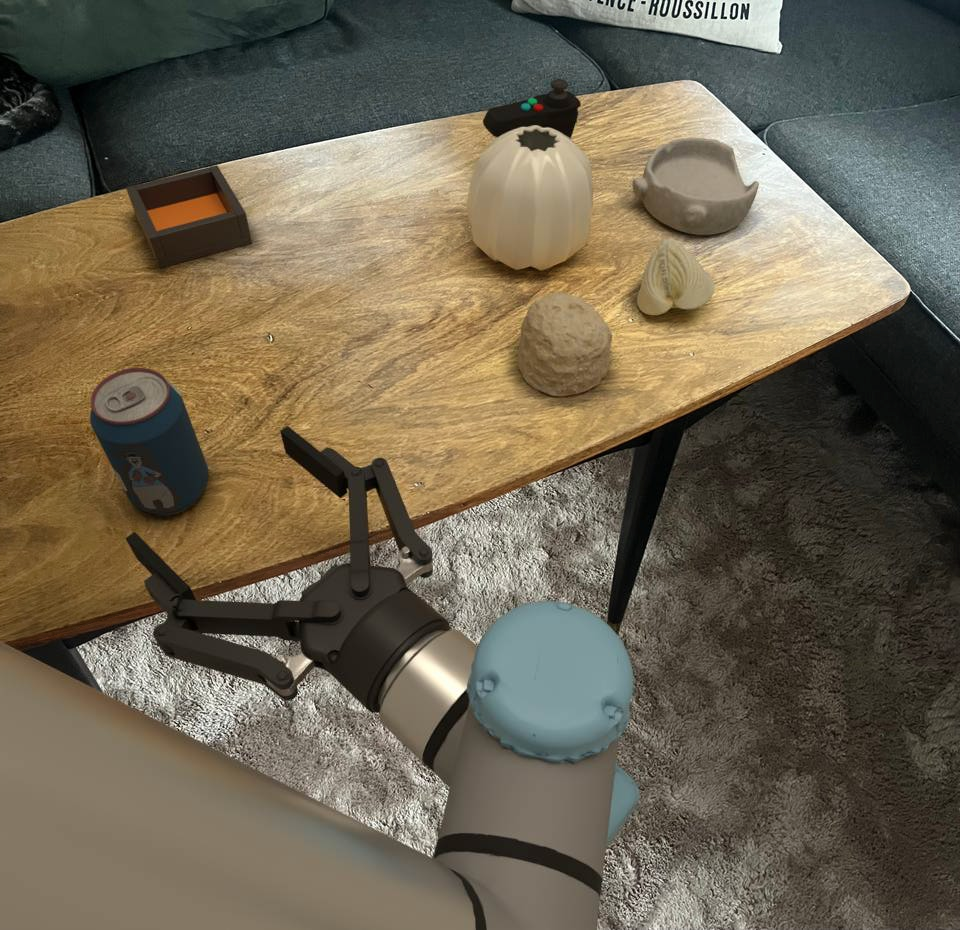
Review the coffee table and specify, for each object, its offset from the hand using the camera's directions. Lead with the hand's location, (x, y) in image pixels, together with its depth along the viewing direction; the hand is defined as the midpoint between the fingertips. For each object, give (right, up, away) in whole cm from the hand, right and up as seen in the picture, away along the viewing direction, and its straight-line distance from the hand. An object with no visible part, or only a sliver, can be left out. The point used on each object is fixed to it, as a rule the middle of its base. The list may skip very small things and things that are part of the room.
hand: (214, 489), depth 62 cm
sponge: (+28, +12, +21) cm, 37 cm away
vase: (+25, +27, +33) cm, 50 cm away
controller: (+26, +40, +44) cm, 65 cm away
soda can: (-7, 0, +10) cm, 13 cm away
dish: (+46, +33, +39) cm, 69 cm away
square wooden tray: (-13, +29, +33) cm, 46 cm away
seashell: (+41, +19, +28) cm, 53 cm away
